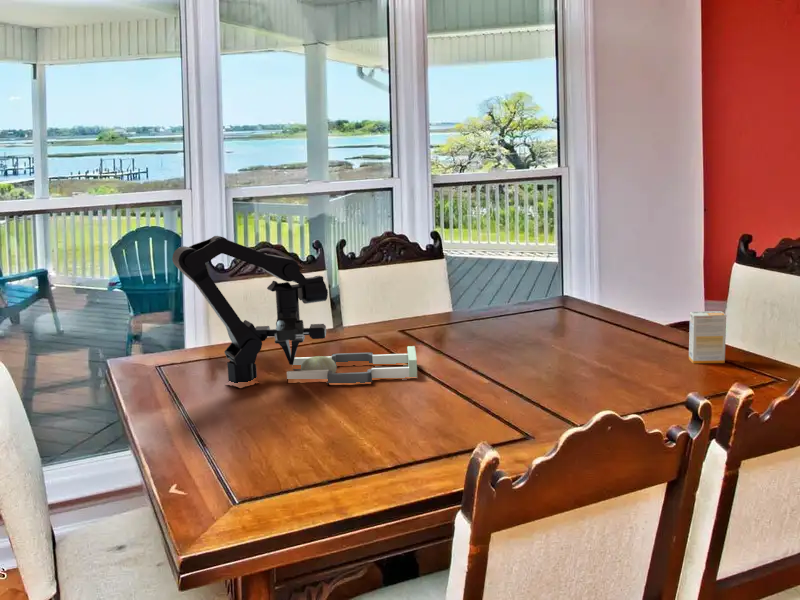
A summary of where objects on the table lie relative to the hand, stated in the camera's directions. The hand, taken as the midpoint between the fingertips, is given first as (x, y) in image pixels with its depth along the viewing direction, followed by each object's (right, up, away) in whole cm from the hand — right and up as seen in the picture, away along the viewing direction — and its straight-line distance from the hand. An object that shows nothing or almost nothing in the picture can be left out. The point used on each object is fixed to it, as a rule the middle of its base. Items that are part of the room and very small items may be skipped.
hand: (291, 364), depth 217 cm
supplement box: (+109, 0, +1) cm, 109 cm away
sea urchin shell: (+7, -3, +1) cm, 8 cm away
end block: (+32, -2, +1) cm, 32 cm away
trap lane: (+15, -3, 0) cm, 15 cm away
